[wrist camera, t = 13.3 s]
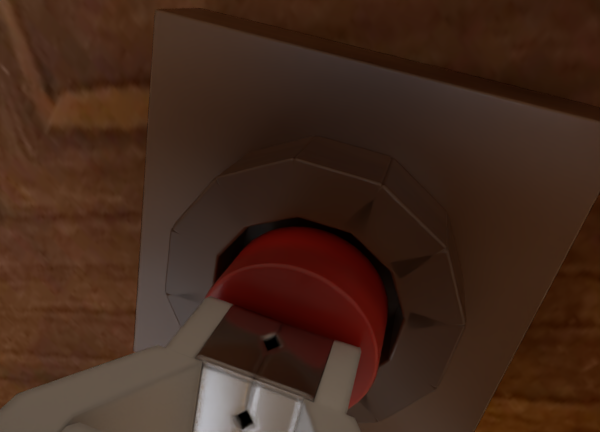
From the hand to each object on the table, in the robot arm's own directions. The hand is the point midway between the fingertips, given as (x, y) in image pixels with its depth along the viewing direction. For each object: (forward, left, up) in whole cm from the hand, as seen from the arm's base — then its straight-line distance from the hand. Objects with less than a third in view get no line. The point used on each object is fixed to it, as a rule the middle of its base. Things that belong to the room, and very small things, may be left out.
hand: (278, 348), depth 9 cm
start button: (0, 0, -2) cm, 2 cm away
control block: (0, 0, -6) cm, 6 cm away
